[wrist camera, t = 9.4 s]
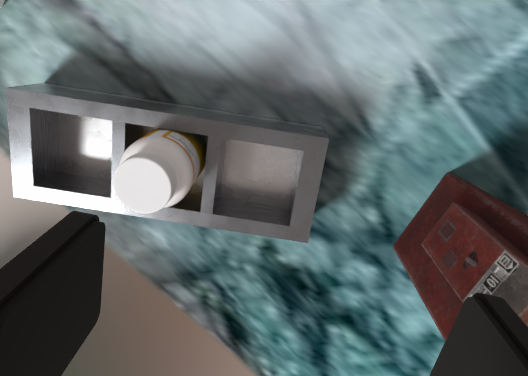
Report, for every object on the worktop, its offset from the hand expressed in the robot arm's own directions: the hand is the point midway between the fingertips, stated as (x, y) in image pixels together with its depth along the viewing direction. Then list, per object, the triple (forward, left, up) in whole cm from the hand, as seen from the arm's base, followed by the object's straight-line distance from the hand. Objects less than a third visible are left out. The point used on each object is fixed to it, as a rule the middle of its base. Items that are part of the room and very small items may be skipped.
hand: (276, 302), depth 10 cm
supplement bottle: (+4, -9, -25) cm, 27 cm away
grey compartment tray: (+4, -9, -26) cm, 28 cm away
